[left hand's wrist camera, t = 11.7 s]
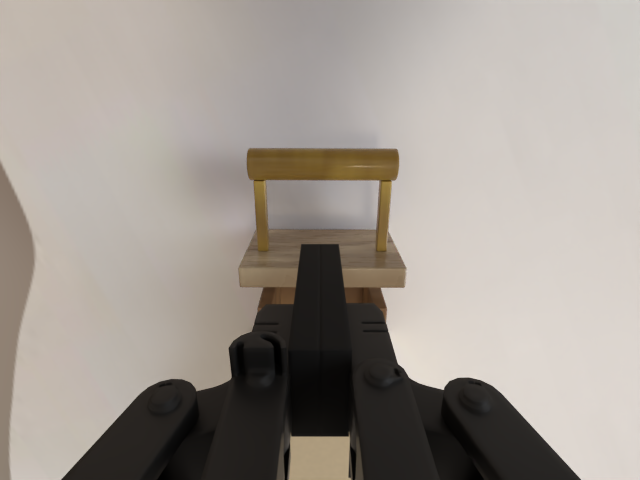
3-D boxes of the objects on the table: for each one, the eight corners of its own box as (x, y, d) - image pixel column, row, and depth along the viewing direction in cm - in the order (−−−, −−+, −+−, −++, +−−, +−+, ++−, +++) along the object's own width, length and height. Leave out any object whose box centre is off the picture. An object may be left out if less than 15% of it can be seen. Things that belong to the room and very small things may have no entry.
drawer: (250, 140, 23) (228, 155, 18) (394, 140, 23) (418, 156, 18) (267, 418, 32) (256, 488, 26) (373, 418, 32) (385, 489, 26)
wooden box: (257, 331, 29) (236, 412, 22) (385, 332, 29) (407, 412, 22) (268, 489, 36) (254, 591, 29) (372, 490, 36) (386, 591, 29)
